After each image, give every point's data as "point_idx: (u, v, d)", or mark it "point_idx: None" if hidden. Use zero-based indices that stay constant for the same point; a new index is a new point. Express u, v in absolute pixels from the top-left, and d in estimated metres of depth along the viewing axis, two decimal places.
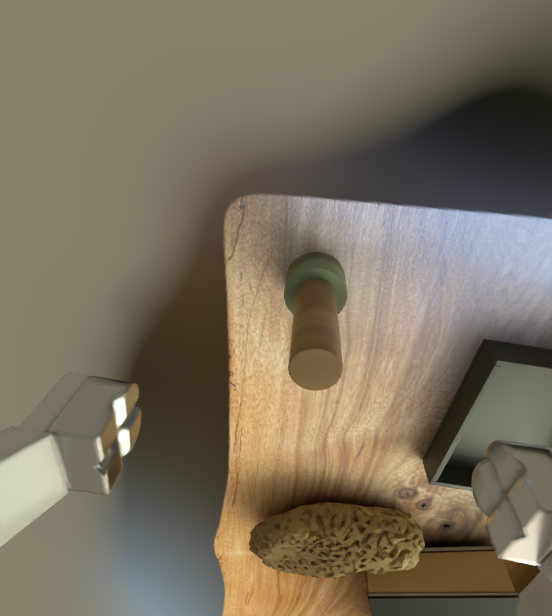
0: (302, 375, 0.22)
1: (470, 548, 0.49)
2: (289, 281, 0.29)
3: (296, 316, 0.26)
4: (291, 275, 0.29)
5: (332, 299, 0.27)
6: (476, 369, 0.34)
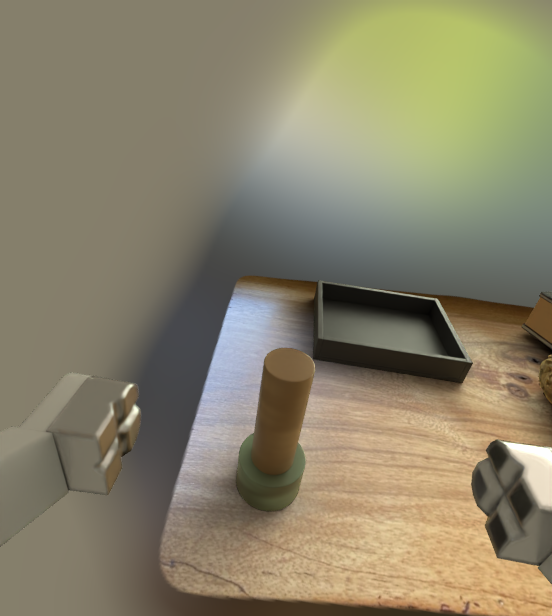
0: (298, 372, 0.23)
1: (542, 340, 0.51)
2: (255, 481, 0.26)
3: (267, 428, 0.24)
4: (250, 482, 0.26)
5: None
6: (337, 355, 0.42)
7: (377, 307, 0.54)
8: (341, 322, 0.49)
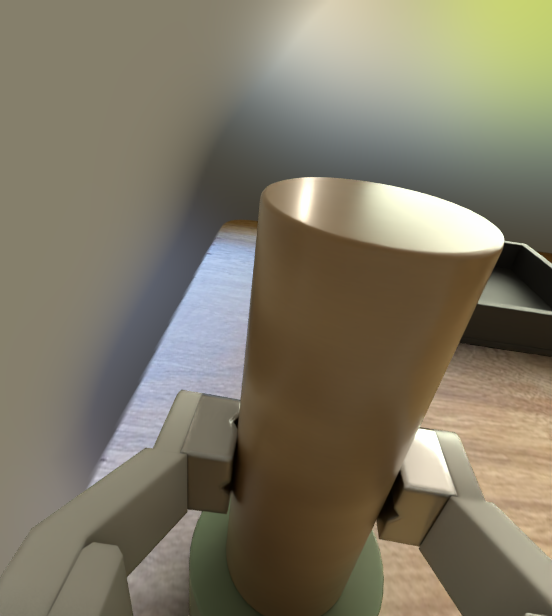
0: (431, 228, 0.05)
1: None
2: None
3: (277, 491, 0.06)
4: None
5: None
6: None
7: None
8: None
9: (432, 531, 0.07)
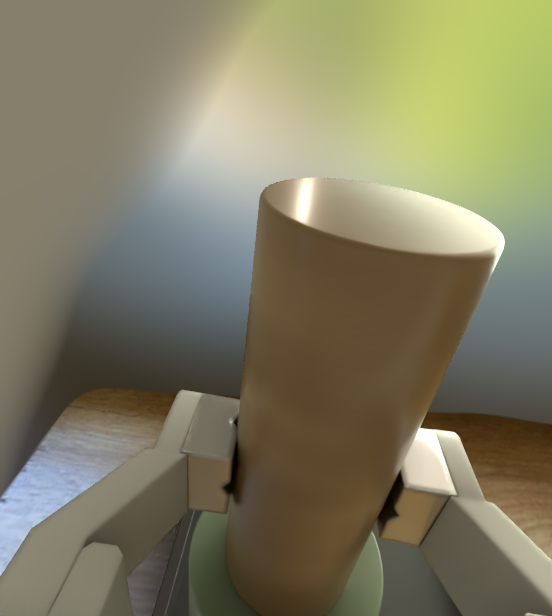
0: (430, 228, 0.04)
1: None
2: None
3: (276, 492, 0.06)
4: None
5: None
6: None
7: None
8: None
9: (432, 531, 0.07)
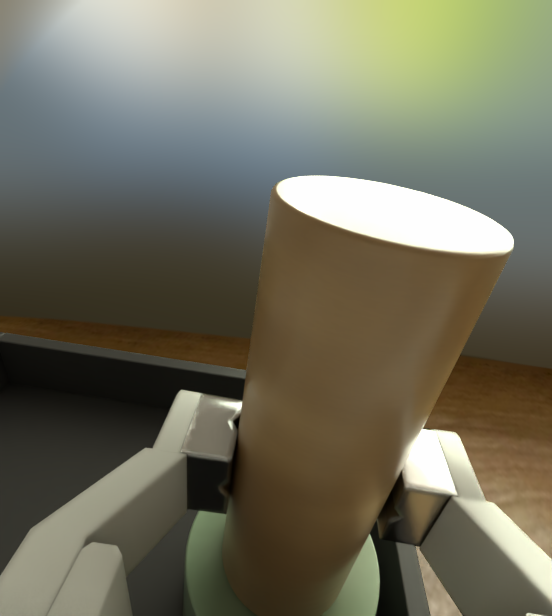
0: (442, 227, 0.05)
1: None
2: None
3: (278, 490, 0.06)
4: None
5: None
6: None
7: None
8: None
9: (432, 531, 0.07)
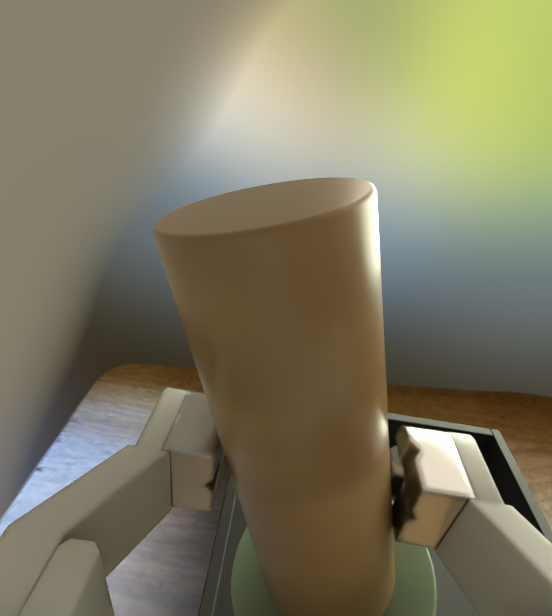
0: (298, 204, 0.05)
1: None
2: None
3: (260, 496, 0.06)
4: None
5: None
6: None
7: None
8: None
9: (449, 534, 0.07)
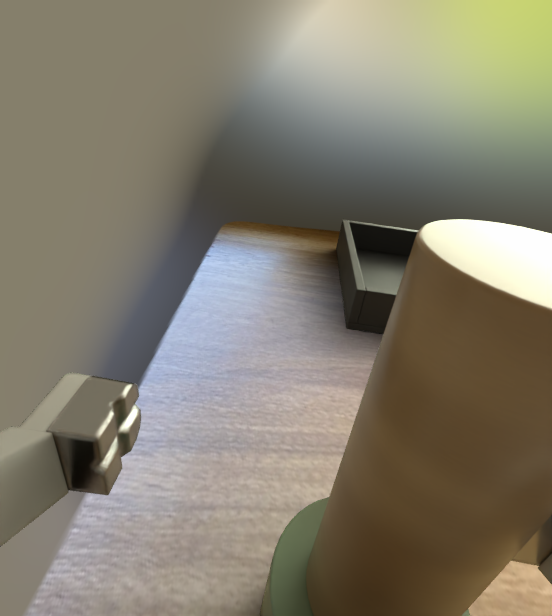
0: None
1: None
2: None
3: (409, 554, 0.06)
4: None
5: None
6: None
7: None
8: (383, 277, 0.31)
9: None
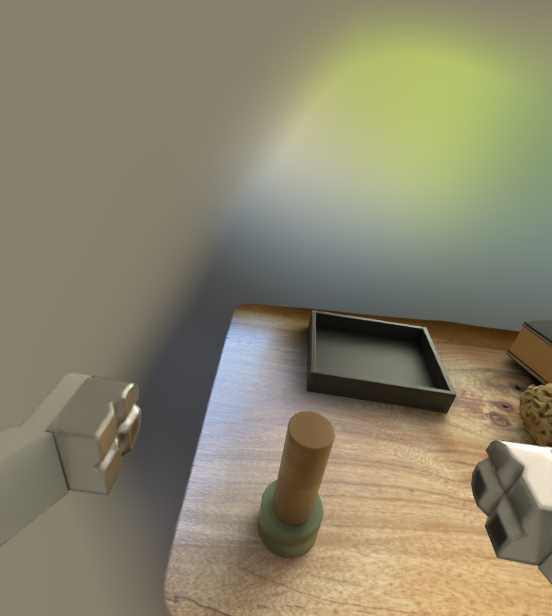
0: (319, 437, 0.25)
1: (525, 367, 0.53)
2: (278, 532, 0.28)
3: (291, 486, 0.26)
4: (273, 533, 0.28)
5: None
6: (329, 387, 0.45)
7: (368, 335, 0.57)
8: (334, 352, 0.52)
9: None
